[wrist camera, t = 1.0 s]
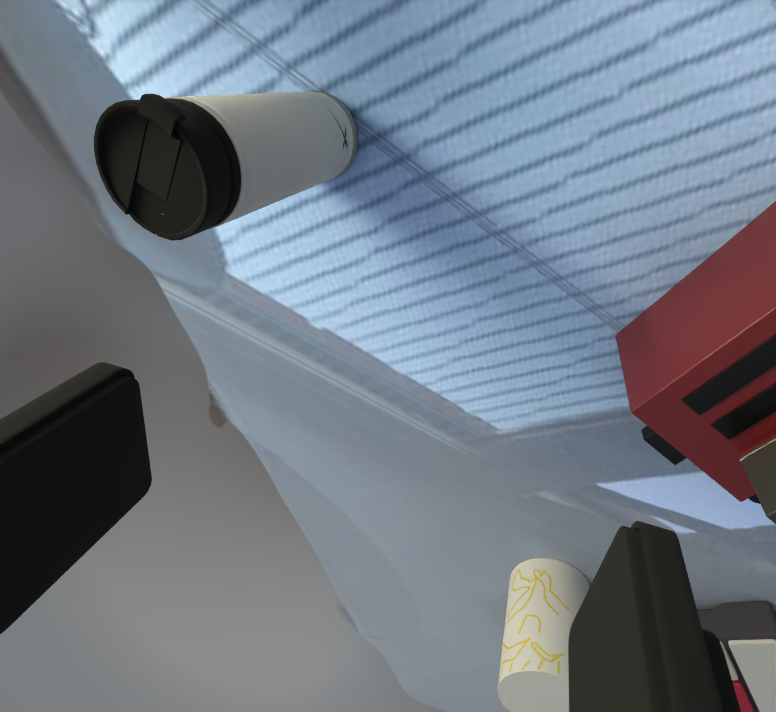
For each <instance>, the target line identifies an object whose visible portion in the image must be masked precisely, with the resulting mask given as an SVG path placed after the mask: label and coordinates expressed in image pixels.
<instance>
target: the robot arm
mask: <svg viewBox="0 0 776 712" xmlns="http://www.w3.org/2000/svg"><path fill="white" fill-rule="evenodd" d="M147 447H148V446H147V439H146V432H145V424H144V417H143V410H142V402H141V395H140V387H139V383H138V381H137V380H136V379H135V378H134V374H133V373H132V372H131V371H130V370H128V369H125V368H122V367H119V366H115V365H112V364H108V363H105V362H100V363H97V364H95V365H93V366H91V367H89V368H88V369H86V370H84V371H83V372H81V373H79V374H77V375H76V376H74V377H72V378H71V379H69V380H67V381H65V382H64V383H62V384H60V385H59V386H57V387H55V388H54V389H52V390H50V391H48V392H46V393H45V394H43V395H42V396H40V397H38V398H36V399H34V400H33V401H31V402H29V403H28V404H26V405H24V406H22V407H21V408H19V409H17V410H16V411H14V412H12V413H10V414H9V415H7V416H5V417H4V418H2V419H0V634H1V633H3V632H4V631H5V630H6V629H7V628H8V627H9V626H10V625H11V624H12V623H13V622H15V621H16V620H17V619H18V618H19V617H20V616H21V615H22V614H23V613H24V612H25V611H26V610H27V609H28V608H29V607H30V606H31V605H32V604H33V603H34V602H35V601H36V600H37V599H38V598H39V597H40V596H41V595H42V594H43V593H44V592H46V590H48V589H49V588H50V587H51V586H52V585H53V584H54V583H55V582H56V581H57V580H58V579H59V578H60V577H61V576H62V575H63V574H64V573H65V572H66V571H67V570H68V569H69V568H70V567H71V566H72V565H73V564H74V563H76V562H77V561H78V560H79V559H80V558H81V557H82V555H84V554H85V553H86V552H87V551H88V550H89V549H90V548H91V547H92V546H93V545H94V544H95V543H96V542H97V541H98V540H99V539H100V538H101V537H102V536H103V535H104V534H105V533H106V532H108V531H109V529H111V528H112V527H113V526H114V525H115V524H116V523H117V522H118V521H119V520H120V519H121V518H122V517H123V516H124V515H125V514H126V513H127V512H128V511H129V510H130V509H131V508H132V507H133V506H134V505H135V504H136V503H138V502H139V500H141V498H143V497H144V496H145V494H146V493H147V492H148V490H149V488H150V485H151V481H152V478H151V469H150V461H149V454H148V448H147ZM568 666H569V712H741V710H740V706H739V703H738V699H737V696H736V692H735V689H734V685H733V682H732V679H731V675H730V672H729V668H728V665H727V661H726V658H725V654H724V651H723V648H722V646H721V644H720V641H719V639H718V638H717V637H716V636H715V634H714V633H713V632H710V631H708V630H705V629H702V628H701V624H700V620H699V617H698V613H697V609H696V605H695V601H694V597H693V594H692V590H691V586H690V582H689V578H688V574H687V570H686V567H685V563H684V559H683V555H682V551H681V547H680V544H679V540H678V537H677V535H676V533H675V532H673V531H670V530H667V529H663V528H660V527H657V526H653V525H650V524H647V523H643V522H640V521H636V522H635V523H633V525H632V526H631V528H629V527H626V526H621V527H620V528H619V530H618V531H617V533H616V535H615V537H614V539H613V541H612V543H611V545H610V548H609V550H608V552H607V554H606V556H605V558H604V560H603V562H602V564H601V566H600V568H599V570H598V572H597V574H596V576H595V578H594V580H593V582H592V584H591V586H590V588H589V590H588V592H587V594H586V596H585V598H584V600H583V602H582V604H581V606H580V608H579V610H578V612H577V614H576V616H575V618H574V620H573V623H572V625H571V629H570V633H569V641H568Z"/></svg>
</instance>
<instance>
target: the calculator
mask: <svg viewBox="0 0 776 712" xmlns="http://www.w3.org/2000/svg"><path fill="white" fill-rule="evenodd" d="M697 613H698V617H699V620H700V624H701V628H702V629H705V630H708V631H710V632H713V633H714V634H715V636H716V637H717V638H718V639H719V641H720V644H721V646H722V648H723V651H724V654H725V658H726V661H727V665H728V668H729V672H730V675H731V679H732V682H733V685H734V689H735V692H736V696H737V699H738V703H739V706H740V710H741V712H776V614H775V612H774V610H773V607H772V605H771V603H769V602H767V601H754V602H738V603H724V604H722V605H720V606H719V607H717V608H715V609H712V610H697Z"/></svg>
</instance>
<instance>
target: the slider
mask: <svg viewBox="0 0 776 712" xmlns="http://www.w3.org/2000/svg"><path fill="white" fill-rule="evenodd" d="M741 463H742V465H743V467H744V469H745V471H746V473H747V475H748V478H749V480H750V482H751V484H752V486H753V488H754V491H755V493H756V495H757V497H758V499H759V501H760V503H761V506H762V508H763V510H764V512H765V514H766V516H767V517H768V518H769V519H770V520H772V521H773V522H774V523H775V524H776V441H775V442H773V443H771V444H769V445H768V446H766V447H764V448H763V449H761V450H759V451H757V452H756V453H754V454H752V455H750V456H749V457H747V458H745V459H743V460H742V461H741Z"/></svg>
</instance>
